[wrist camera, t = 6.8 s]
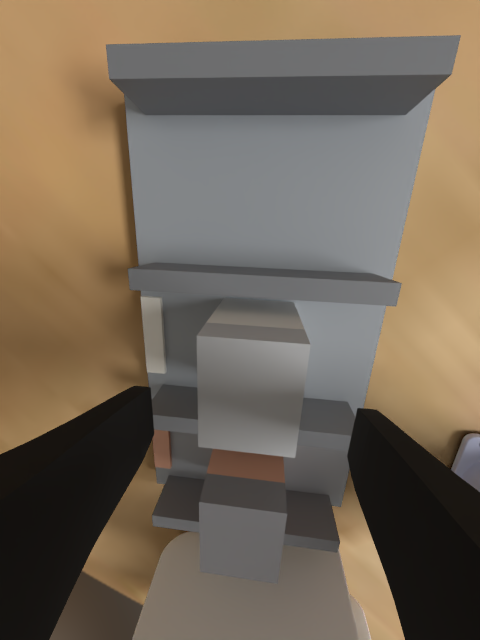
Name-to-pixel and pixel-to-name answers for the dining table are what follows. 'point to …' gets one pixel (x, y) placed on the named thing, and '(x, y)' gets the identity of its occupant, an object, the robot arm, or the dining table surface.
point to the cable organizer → (250, 600)
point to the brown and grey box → (243, 515)
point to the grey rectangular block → (251, 377)
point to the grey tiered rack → (272, 228)
